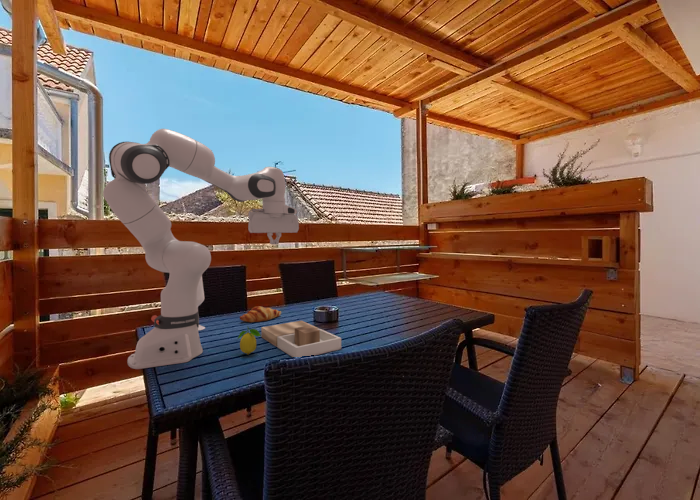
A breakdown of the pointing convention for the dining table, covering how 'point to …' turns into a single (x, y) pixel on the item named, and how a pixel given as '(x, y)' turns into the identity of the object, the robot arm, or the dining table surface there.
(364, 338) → the dining table surface
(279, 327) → the wooden board
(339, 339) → the box
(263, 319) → the croissant
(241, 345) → the lemon
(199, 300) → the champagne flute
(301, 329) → the walnut block
